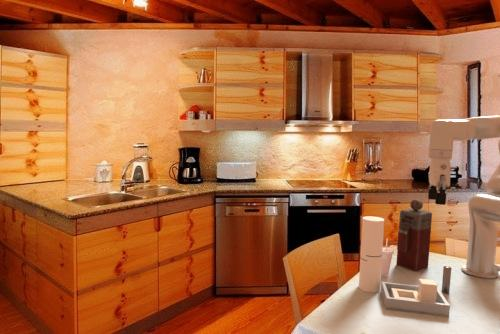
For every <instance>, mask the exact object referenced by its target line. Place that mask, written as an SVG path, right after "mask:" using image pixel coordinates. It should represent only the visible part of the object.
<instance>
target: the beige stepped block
mask: <svg viewBox="0 0 500 334" xmlns="http://www.w3.org/2000/svg"><path fill="white" fill-rule="evenodd" d="M418 286H419V288H418V292H417V291H413V290H405V289H396V288H391V295H392V298H401V299H409V300H418V301H427V302H435V303H436V296H437V288H438V284H437V283H436V281H435V280H434V279H433V280H432V279H426V278H425V279H424V278H419V279H418ZM399 296H400V297H399ZM404 297H408V298H404Z"/></svg>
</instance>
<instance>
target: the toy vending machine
mask: <svg viewBox="0 0 500 334" xmlns="http://www.w3.org/2000/svg"><path fill="white" fill-rule="evenodd" d="M409 206H410V208H406V209H401V210H400V211H399V218H398V219H399V221H398V231H397V244H396V245H397V246H396V249H397V252H396V266H398V267H401V268H404V269H408V270H410V271H413V272H415V273H417V272H420V271H423V270H425V269H428V268H429V260H430V259H429V257H430V248H431V247H430V246H431V245H430V244H431V235H432V223H433V222H432V221H433V220H432V219H433V213H432V212H431V211H428V210H425V209H422V208H423V206H424V203H423V201H422V200H420V199H418V198H417V199H413V200H411V201H410V205H409Z"/></svg>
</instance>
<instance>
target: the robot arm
mask: <svg viewBox="0 0 500 334" xmlns="http://www.w3.org/2000/svg"><path fill="white" fill-rule="evenodd" d="M429 131H430V132H429V142H428V143H429V145H428V156H427V157H428V159H430V163H429V170H428V171H429V173H428V183H429V186H428V196H427V197H428V200H435V202H434V204H435V205H440V206H443V205H444V206H445V205H446V203H447V192H448V191H447V189H448V188H449V187H451V160H452V159H453V150H454V141H455V142H467V141H469V140H488V139H496V138H499V139H498V144H497V145H498V146H497V147H498V152H499V153H498V154H499V155H500V115H488V116H477V117H468V118H467V117H466V118H457V119H435V120H432V121H431V123H430V129H429ZM485 192H486V193H478V194H474V195H472V196H471V197H470V199H469V201H468V212H469V213H468V214H469V230H468V242H467V251H466V262H465V263H466V264H462V265H461V267H460V269H461V270H462V271H463V272H464V273H465V274H467V275H469V276H472V277H476V278H482V279H497V278H499V272H500V264H497V263H496V252H497V244H498V233H499V232H498V227H497V224H496V222H497V223H500V162H499V164H498V165H497V167H496V169H495V170H494V172H493V173H492V175H491V176H490V178H488V181H487V182H486V185H485ZM496 277H497V278H496Z"/></svg>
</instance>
